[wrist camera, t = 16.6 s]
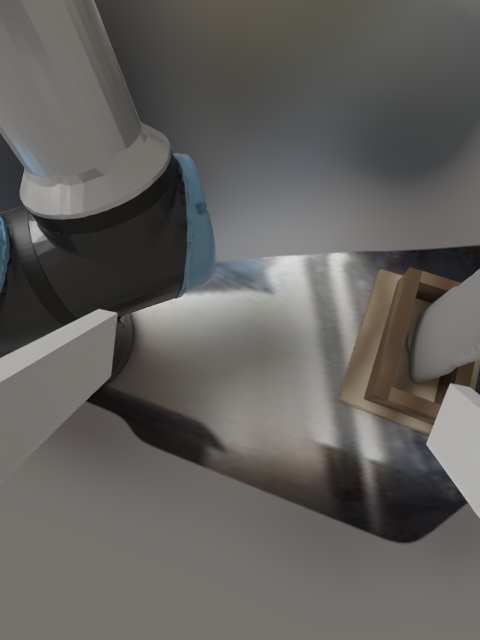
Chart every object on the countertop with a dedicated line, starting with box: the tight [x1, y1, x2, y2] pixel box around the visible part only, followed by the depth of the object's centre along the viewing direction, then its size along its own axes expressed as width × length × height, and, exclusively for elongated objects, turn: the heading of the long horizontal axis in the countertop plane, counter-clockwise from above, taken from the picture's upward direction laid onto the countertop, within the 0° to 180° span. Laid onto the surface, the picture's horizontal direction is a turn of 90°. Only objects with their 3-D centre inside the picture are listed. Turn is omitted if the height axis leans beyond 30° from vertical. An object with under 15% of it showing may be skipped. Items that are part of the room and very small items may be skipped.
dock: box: [338, 267, 480, 436], centre depth 42 cm, size 14×18×6 cm
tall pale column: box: [406, 269, 480, 384], centre depth 33 cm, size 11×4×22 cm, turn 162°
